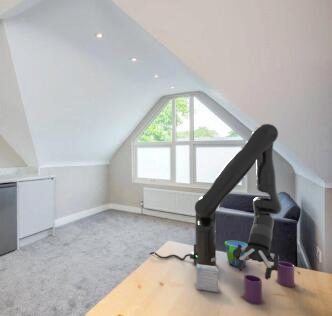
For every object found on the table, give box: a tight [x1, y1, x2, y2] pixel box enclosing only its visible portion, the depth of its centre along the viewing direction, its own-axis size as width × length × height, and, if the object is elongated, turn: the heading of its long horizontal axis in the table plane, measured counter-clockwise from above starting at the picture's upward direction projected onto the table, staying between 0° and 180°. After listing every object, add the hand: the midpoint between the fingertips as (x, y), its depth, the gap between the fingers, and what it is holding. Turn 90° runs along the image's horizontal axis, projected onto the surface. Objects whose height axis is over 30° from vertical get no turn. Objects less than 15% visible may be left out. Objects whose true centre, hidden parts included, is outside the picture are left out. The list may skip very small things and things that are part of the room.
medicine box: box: [195, 264, 219, 293], centre depth 100 cm, size 8×4×9 cm, turn 71°
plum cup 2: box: [276, 261, 295, 288], centre depth 103 cm, size 6×6×8 cm
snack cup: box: [224, 239, 248, 267], centre depth 122 cm, size 16×10×10 cm
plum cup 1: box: [243, 274, 263, 305], centre depth 92 cm, size 6×6×8 cm
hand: (253, 274), depth 94 cm, fingers open, 8 cm apart
